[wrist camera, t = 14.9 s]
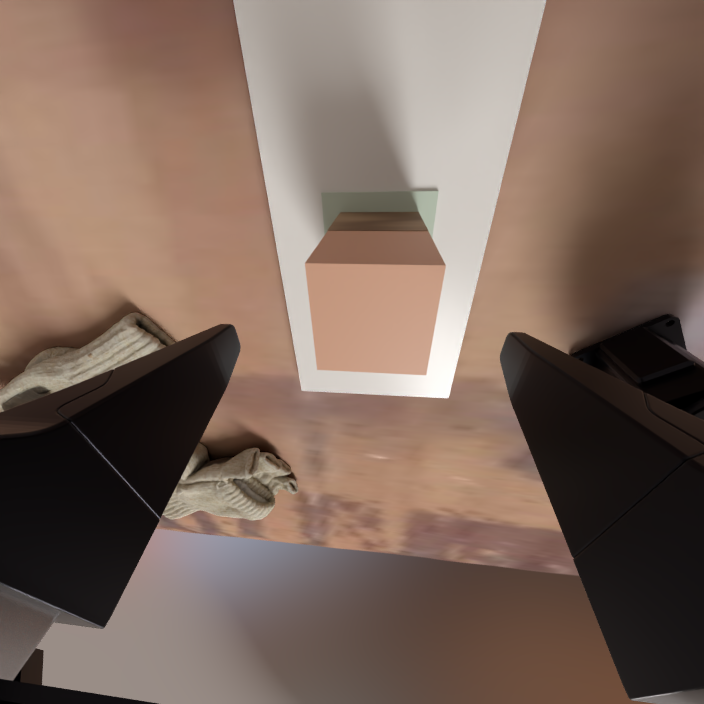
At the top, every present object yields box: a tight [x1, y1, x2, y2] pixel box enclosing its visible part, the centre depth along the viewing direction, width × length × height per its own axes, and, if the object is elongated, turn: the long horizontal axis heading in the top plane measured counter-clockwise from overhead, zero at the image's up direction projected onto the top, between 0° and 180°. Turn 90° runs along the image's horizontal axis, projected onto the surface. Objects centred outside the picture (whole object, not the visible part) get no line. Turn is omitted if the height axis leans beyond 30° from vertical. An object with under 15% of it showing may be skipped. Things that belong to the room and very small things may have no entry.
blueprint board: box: [233, 0, 546, 398], centre depth 18 cm, size 25×13×1 cm, turn 1°
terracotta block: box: [305, 231, 446, 375], centre depth 12 cm, size 4×4×4 cm
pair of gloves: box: [0, 312, 298, 520], centre depth 33 cm, size 30×26×5 cm
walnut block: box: [327, 212, 428, 231], centre depth 16 cm, size 4×4×4 cm
